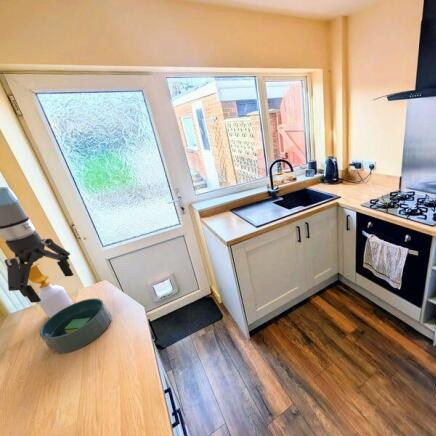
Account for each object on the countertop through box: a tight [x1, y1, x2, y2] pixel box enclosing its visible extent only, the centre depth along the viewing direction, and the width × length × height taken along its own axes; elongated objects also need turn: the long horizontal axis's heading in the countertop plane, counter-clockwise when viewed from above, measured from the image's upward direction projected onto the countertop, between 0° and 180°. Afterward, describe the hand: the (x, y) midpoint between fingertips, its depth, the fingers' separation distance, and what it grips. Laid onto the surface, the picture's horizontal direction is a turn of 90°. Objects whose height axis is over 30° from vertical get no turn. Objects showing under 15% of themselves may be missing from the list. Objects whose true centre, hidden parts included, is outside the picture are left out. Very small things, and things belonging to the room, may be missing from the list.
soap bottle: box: [28, 263, 74, 319], centre depth 104 cm, size 9×9×25 cm
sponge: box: [64, 318, 91, 334], centre depth 95 cm, size 7×4×4 cm, turn 90°
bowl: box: [39, 297, 112, 354], centre depth 95 cm, size 19×19×8 cm
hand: (54, 287), depth 87 cm, fingers open, 13 cm apart
